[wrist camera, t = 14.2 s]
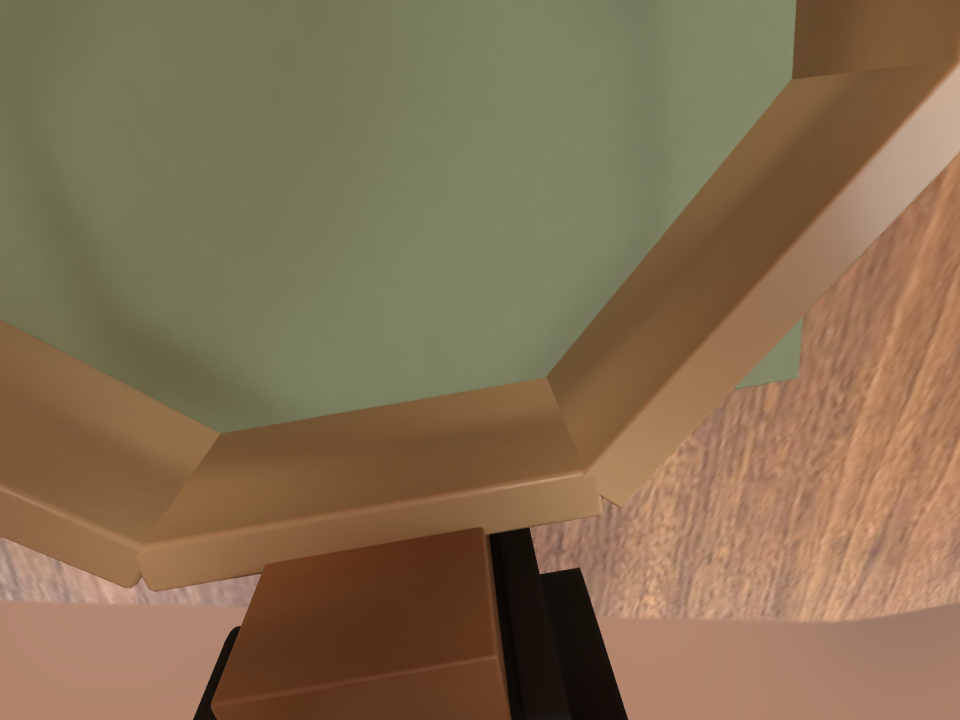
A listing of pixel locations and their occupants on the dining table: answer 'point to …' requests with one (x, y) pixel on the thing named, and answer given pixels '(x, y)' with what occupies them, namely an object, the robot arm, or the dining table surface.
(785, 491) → the dining table surface
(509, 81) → the mat
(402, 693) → the hoop
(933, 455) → the dining table surface
